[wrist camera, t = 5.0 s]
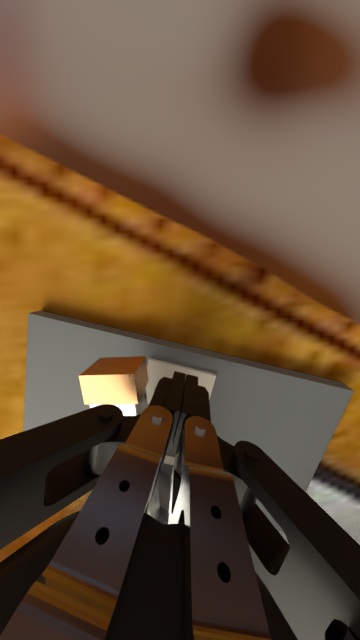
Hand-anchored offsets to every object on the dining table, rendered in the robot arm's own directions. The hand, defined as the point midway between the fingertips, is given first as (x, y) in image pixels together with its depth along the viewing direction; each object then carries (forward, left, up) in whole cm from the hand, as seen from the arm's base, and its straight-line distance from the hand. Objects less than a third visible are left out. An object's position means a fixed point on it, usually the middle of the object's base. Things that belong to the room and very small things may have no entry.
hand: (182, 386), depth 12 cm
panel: (0, +6, -4) cm, 7 cm away
